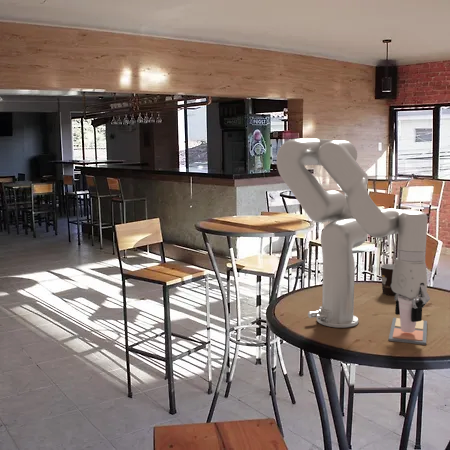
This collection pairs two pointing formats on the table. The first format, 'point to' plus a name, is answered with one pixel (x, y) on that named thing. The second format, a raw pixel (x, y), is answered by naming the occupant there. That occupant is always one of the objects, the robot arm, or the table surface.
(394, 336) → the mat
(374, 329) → the table surface
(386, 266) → the coffee mug
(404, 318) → the smoothie
